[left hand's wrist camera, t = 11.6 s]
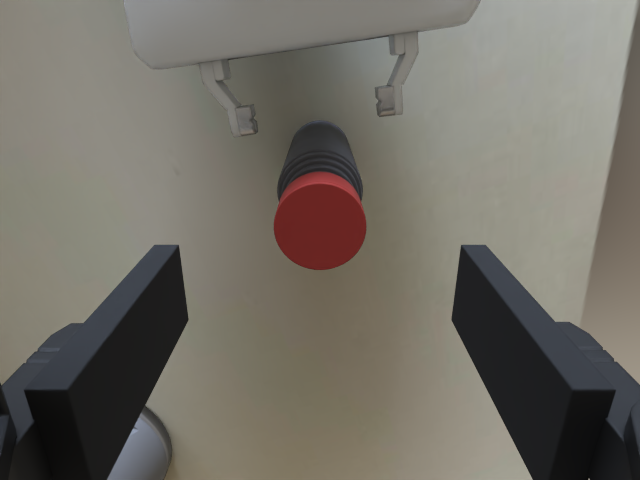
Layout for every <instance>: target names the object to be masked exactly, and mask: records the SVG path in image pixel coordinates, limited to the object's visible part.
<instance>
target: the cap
mask: <svg viewBox="0 0 640 480" xmlns="http://www.w3.org/2000/svg"><path fill="white" fill-rule="evenodd" d="M274 234H275V238H276V241H277V243H278V246H279V247H280V249H281V250H282V252H283V253H284V254H285V255H286V256H287V257H288V258H289V259H290V260H291V261H293V262H294V263H296V264H298V265H300V266H302V267H305V268H309V269H314V270H326V269H332V268H335V267H338V266H340V265H342V264H344V263H346V262H347V261H349V260H350V259H351V258H352V257H353V256H354V255H355V254H356V253H357V252H358V251H359V249H360V248H361V246H362V244H363V241H364V239H365V235H366V218H365V214H364V211H363V207H362V204H361V201H360V198H359V196H358V194H357V192H356V190H355V189H354V187H353V186H352V185H351V184H350V183H349V182H348V181H346V180H345V179H343V178H342V177H340V176H338V175H335V174H332V173H328V172H312V173H308V174H305V175H302V176H300V177H298V178H297V179H295V180H294V181H293V182H291V183H290V184H289V185H288V187H287V188H286V189H285V190H284V192H283V194H282V196H281V198H280V201H279V205H278V208H277V212H276V215H275V219H274Z"/></svg>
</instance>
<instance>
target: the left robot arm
mask: <svg viewBox="0 0 640 480" xmlns="http://www.w3.org/2000/svg"><path fill="white" fill-rule="evenodd" d="M187 322H188V312H187V304H186V297H185V289H184V281H183V274H182V266H181V258H180V251H179V245H154V246H153V247H152V248H151V249H150V250H149V252H148V253H147V254H146V255H145V256H144V257H143V258H142V259H141V260H140V262H139V263H138V264H137V265H136V266H135V267H134V268H133V269H132V270H131V271H130V273H129V274H128V275H127V276H126V277H125V278H124V279H123V280H122V281H121V283H120V284H119V285H118V286H117V287H116V288H115V289H114V290H113V291H112V292H111V294H110V295H109V296H108V297H107V298H106V299H105V300H104V301H103V302H102V304H101V305H100V306H99V307H98V308H97V309H96V310H95V311H94V312H93V313H92V315H91V316H90V317H89V318H88V319H87V320H86V321H85V322H84V323H71V324H69V325H68V326H66V327H64V328H63V329H61V330H59V331H58V332H56V333H54V334H52V335H51V336H50V337H49V338H48V339H47V340H46V341H45V342H44V343H43V344H42V345H41V346H40V347H39V348H38V351H37V352H34V353H33V354H32V355H31V356H30V357H29V358H28V359H27V362H26V363H23V365H22V366H21V367H20V368H19V369H18V370H17V371H16V372H15V373H14V374H13V375H12V376H11V377H10V378H9V379H8V380H7V381H6V382H5V383H4V384H3V385H2V386H1V383H0V480H164V478H165V475H166V473H167V470H168V467H169V465H170V461H171V456H172V447H171V441H170V438H169V435H168V433H167V431H166V429H165V427H164V426H163V424H162V423H161V421H160V420H159V419H158V418H157V417H156V416H155V415H154V414H153V413H152V412H151V411H150V410H149V409H148V408H146V407H145V404H146V402H147V400H148V398H149V396H150V394H151V392H152V390H153V389H154V387H155V385H156V383H157V381H158V379H159V377H160V375H161V373H162V371H163V369H164V367H165V365H166V363H167V361H168V359H169V357H170V355H171V353H172V351H173V349H174V347H175V345H176V343H177V341H178V339H179V338H180V336H181V334H182V332H183V330H184V328H185V326H186V324H187ZM452 322H453V324H454V326H455V328H456V330H457V332H458V334H459V336H460V338H461V339H462V341H463V343H464V345H465V347H466V349H467V351H468V353H469V355H470V357H471V359H472V361H473V363H474V365H475V367H476V369H477V371H478V373H479V375H480V377H481V379H482V381H483V383H484V385H485V387H486V389H487V390H488V392H489V394H490V396H491V398H492V400H493V402H494V404H495V406H496V408H497V410H498V412H499V414H500V416H501V418H502V420H503V422H504V424H505V426H506V428H507V430H508V432H509V434H510V436H511V438H512V439H513V441H514V443H515V445H516V447H517V449H518V451H519V453H520V455H521V457H522V459H523V461H524V463H525V465H526V467H527V469H528V471H529V473H530V475H531V477H532V479H533V480H588V478H590V480H640V385H639V384H638V383H637V382H636V381H635V380H634V379H633V378H632V377H631V376H630V375H629V374H628V373H627V372H626V371H625V370H624V369H623V368H622V367H621V366H620V365H619V363H617V362H614V358H613V357H612V356H611V355H610V354H609V353H608V352H607V351H606V350H603V349H602V348H603V347H602V346H601V345H600V344H599V343H598V342H597V341H596V340H595V339H594V338H593V337H592V336H591V335H590V334H589V333H587V332H585V331H584V330H582V329H580V328H579V327H577V326H575V325H573V324H572V323H570V322H555V321H554V320H553V319H552V318H551V317H550V316H549V315H548V313H547V312H546V311H545V310H544V309H543V308H542V307H541V306H540V305H539V304H538V302H537V301H536V300H535V299H534V298H533V297H532V296H531V295H530V294H529V292H528V291H527V290H526V289H525V288H524V287H523V286H522V285H521V284H520V283H519V281H518V280H517V279H516V278H515V277H514V276H513V275H512V274H511V273H510V271H509V270H508V269H507V268H506V267H505V266H504V265H503V264H502V263H501V262H500V260H499V259H498V258H497V257H496V256H495V255H494V254H493V253H492V252H491V250H490V249H489V248H488V247H487V246H486V245H461V251H460V258H459V266H458V274H457V281H456V289H455V297H454V304H453V312H452Z"/></svg>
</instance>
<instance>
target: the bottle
mask: <svg viewBox="0 0 640 480" xmlns="http://www.w3.org/2000/svg"><path fill="white" fill-rule="evenodd" d="M312 172H328V173H332V174H335V175H338V176H340V177H342V178H343V179H345V180H346V181H348V182H349V183H350V184H351V185H352V186H353V187H354V189H355V190H356V192H357V194H358V196H359V198H360V201H361V200H362V194H363V186H362V180H361V177H360V174H359V172H358V169H357V166H356V163H355V160H354V157H353V155H352V152H351V149H350V146H349V143H348V140H347V138H346V136H345V134H344V133H343V131H342V130H341V129H340V128H339V127H337V126H336V125H334V124H332V123H330V122H327V121H314V122H310V123H308V124H306V125H304V126H303V127H301V128H300V129H299V130H298V132H297V133H296V134H295V136H294V138H293V140H292V143H291V146H290V149H289V152H288V155H287V158H286V160H285V163H284V166H283V169H282V172H281V175H280V178H279V181H278V187H277V193H278V200H279V201H280V198H281V196H282V194H283V192H284V190H285V189H286V188H287V187H288V185H289V184H290V183H291V182H293V181H294V180H295V179H297V178H298V177H300V176H302V175H305V174H308V173H312Z"/></svg>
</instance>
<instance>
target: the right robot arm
mask: <svg viewBox="0 0 640 480" xmlns="http://www.w3.org/2000/svg"><path fill="white" fill-rule="evenodd" d="M479 3H480V0H124V7H125V13H126V18H127V24H128V29H129V33H130V38H131V43H132V47H133V50H134V52H135V54H136V55H137V57H138V58H140V59H141V60H142V61H143V62H144V63H145V64H146V65H147V66H148V67H150V68H151V69H169V68H176V67H183V66H190V65H197V64H199V68H200V72H201V77H202V81H203V84H204V85H205V86H206V88H207V89H208V90H209V91H210V92H211V94H212V95H213V96H214V97H215V98H216V100H217V101H218V102H219V103H220V104H221V105H222V107H223V108H224V109H225V110H226V109H227V112H228V117H229V122H230V127H231V131H232V134H233V137H240V136H246V135H253V134H256V133H257V132H258V125H257V121H256V120H255V119H254V117H255V109H254V104H251V105H243V106H241V104H240V102H239V101H238V100H237V98H236V97H235V96H234V95H233V93H232V92H231V91H230V89H229V88H228V87H227V85H226V84H225V83H224V82H223V80H227V79H230V78H231V74H230V68H229V63H228V60H231V59H238V58H245V57H251V56H258V55H265V54H272V53H279V52H286V51H292V50H299V49H306V48H313V47H320V46H327V45H333V44H340V43H347V42H354V41H361V40H367V39H374V38H381V37H388V36H389V46H390V54H391V55H399V57H398V60H397V62H396V64H395V67H394V69H393V71H392V74H391V76H390V78H389V81H388V83H387V85H385V86H379V87H375V97H376V99H377V100H378V102H377V104H376V108H377V115H378V116H379V117H384V116H392V115H400V114H402V113H403V102H402V85H403V84H404V82H405V80H406V78H407V76H408V74H409V72H410V70H411V67H412V65H413V63H414V61H415V59H416V57H417V55H418V32H422V31H429V30H436V29H442V28H449V27H455V26H460V25H462V24H465V23H467V22H468V21H469V19H470V18H471V17H472V15H473V14H474V12H475V11H476V9H477V7H478V5H479Z"/></svg>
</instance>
